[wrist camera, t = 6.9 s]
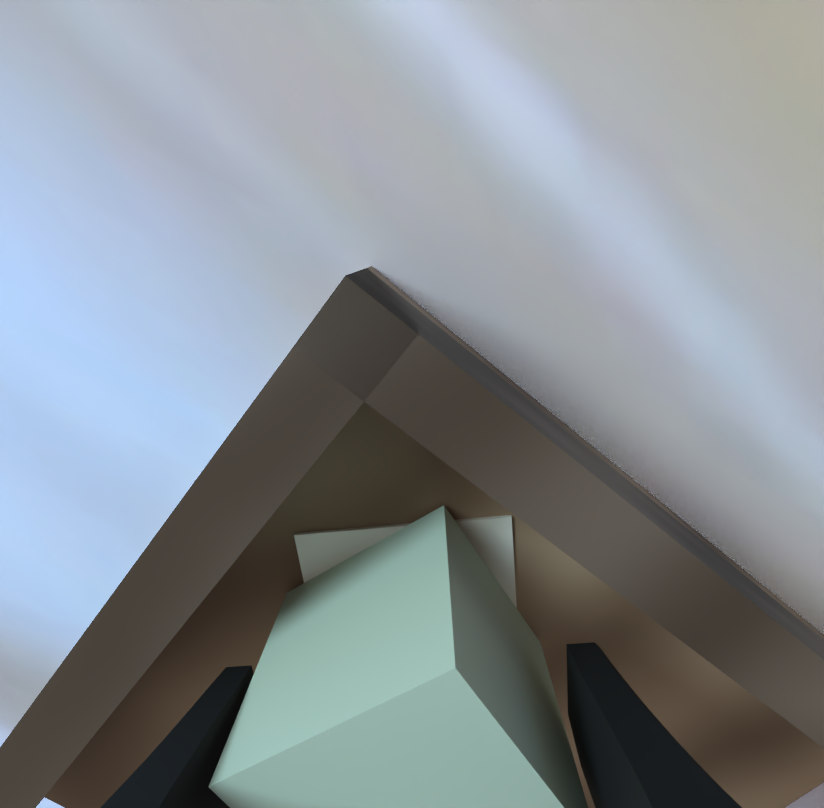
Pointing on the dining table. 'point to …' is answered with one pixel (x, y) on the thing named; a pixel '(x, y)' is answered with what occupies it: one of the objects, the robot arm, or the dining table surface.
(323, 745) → the sage cube
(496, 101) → the dining table surface
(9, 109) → the dining table surface
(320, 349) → the arena
